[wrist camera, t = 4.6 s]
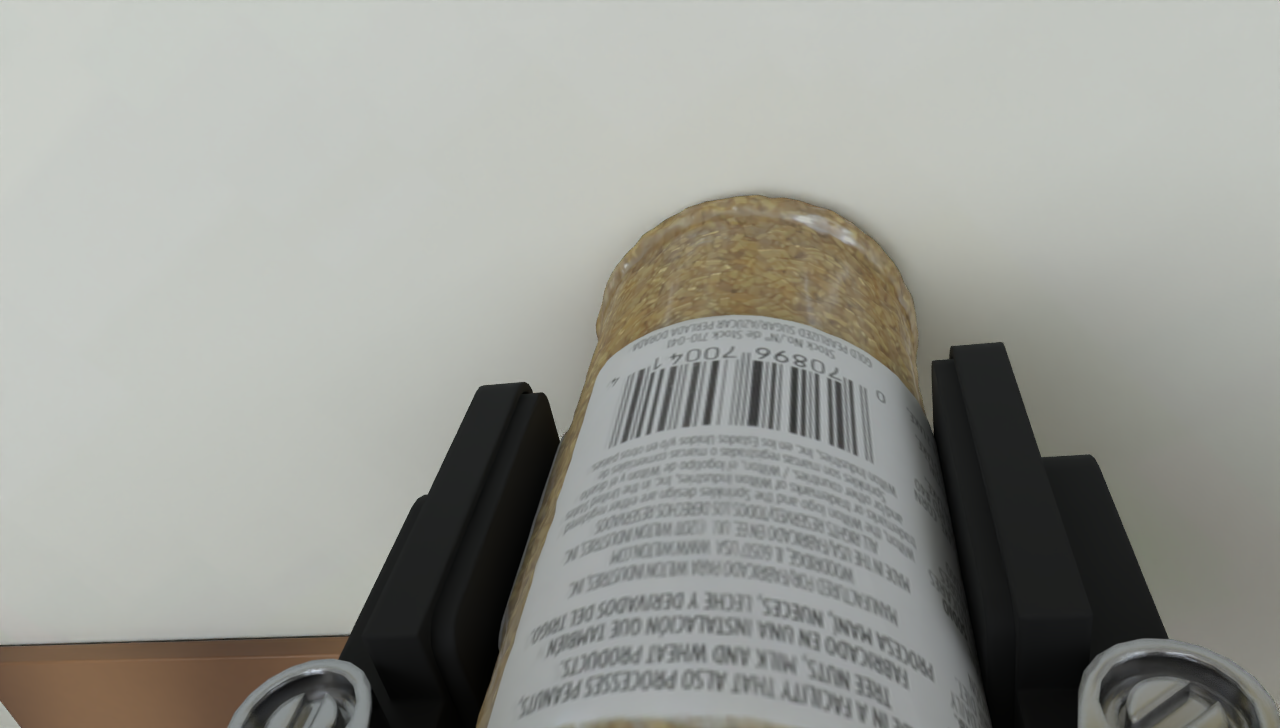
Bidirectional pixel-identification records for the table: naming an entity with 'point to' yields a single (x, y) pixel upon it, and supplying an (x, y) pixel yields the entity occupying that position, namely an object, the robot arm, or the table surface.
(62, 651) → the wooden board
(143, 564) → the table surface
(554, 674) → the spice jar
